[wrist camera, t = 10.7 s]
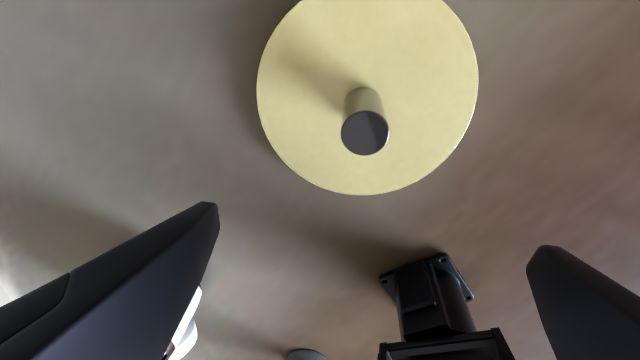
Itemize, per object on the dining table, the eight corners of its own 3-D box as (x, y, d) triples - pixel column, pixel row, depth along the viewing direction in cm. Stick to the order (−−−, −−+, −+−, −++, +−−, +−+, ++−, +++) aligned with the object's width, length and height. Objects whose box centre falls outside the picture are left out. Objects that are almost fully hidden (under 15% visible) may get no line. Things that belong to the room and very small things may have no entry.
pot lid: (410, -91, 14) (438, -132, 10) (503, 129, 20) (552, 172, 15) (218, 71, 19) (174, 95, 15) (333, 213, 24) (328, 265, 20)
